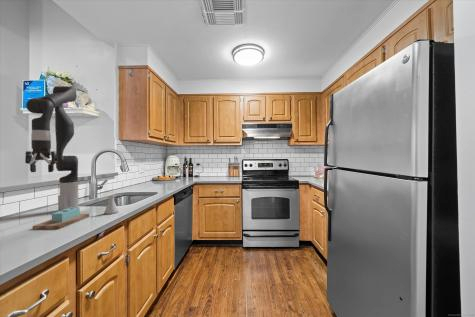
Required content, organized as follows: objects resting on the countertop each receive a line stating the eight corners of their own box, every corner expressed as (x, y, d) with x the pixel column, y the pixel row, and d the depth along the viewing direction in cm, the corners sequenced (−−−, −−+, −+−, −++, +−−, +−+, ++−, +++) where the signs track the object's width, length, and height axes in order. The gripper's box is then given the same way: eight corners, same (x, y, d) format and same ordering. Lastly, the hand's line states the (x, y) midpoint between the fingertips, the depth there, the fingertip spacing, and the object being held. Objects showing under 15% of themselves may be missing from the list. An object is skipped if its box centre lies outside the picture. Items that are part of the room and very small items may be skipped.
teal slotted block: (51, 222, 116) (51, 213, 116) (70, 215, 129) (70, 207, 129) (62, 221, 116) (62, 213, 116) (79, 215, 129) (79, 207, 129)
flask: (112, 214, 136) (112, 196, 135) (101, 214, 137) (100, 196, 137) (121, 211, 143) (120, 194, 143) (110, 211, 144) (110, 194, 144)
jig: (32, 229, 110) (32, 218, 110) (67, 216, 132) (66, 207, 132) (59, 229, 110) (58, 218, 110) (89, 216, 132) (88, 207, 132)
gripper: (61, 140, 125) (61, 171, 125) (33, 139, 125) (33, 171, 125) (49, 139, 117) (50, 172, 118) (20, 139, 117) (21, 172, 118)
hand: (42, 172), depth 121 cm, fingers open, 8 cm apart
